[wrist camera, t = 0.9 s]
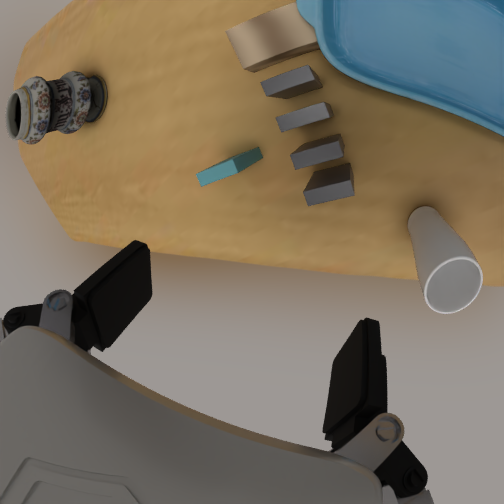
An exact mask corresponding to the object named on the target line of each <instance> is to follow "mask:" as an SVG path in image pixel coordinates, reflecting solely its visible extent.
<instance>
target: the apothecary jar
mask: <svg viewBox="0 0 504 504" xmlns="http://www.w3.org/2000/svg"><path fill="white" fill-rule="evenodd" d="M106 102H107V88H106V85H105V82H104V80H103V79H102V78H101V77H100V76H98V75H93V76H92V77H91V78H89V77H87V78H86V77H85V76H84V75H83V74H82V73H80V72H76V71H72V72H68V73H66V74H65V75H63V76H62V77H61V78H60V79H58V80H52V81H46V80H45V79H43V78H42V77H38V76H36V77H32V78H30V79H28V80H27V81H26V82H25V83H24V84H23V85H22V87H21V88H19V89H17V90H15V91H13V92H12V93H11V95H10V97H9V99H8V102H7V107H6V127H7V132H8V135H9V137H10V138H11V139H12V140H18V139H21V140H22V141H23V142H25V143H27V144H36V143H38V142H39V141H40V140H41V139H42V138H43V137H44V135H45V134H46V133H48V132H52V131H56V130H58V131H60V132H62V133H64V134H70V133H73V132H75V131H77V130H78V129H79V128H81V126H82V125H83V124H84V122H85V121H86V122H94V121H96V120H97V119H99V118H100V116H101V115H102V113H103V111H104V109H105V106H106Z"/></svg>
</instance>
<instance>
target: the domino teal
mask: <svg viewBox="0 0 504 504" xmlns="http://www.w3.org/2000/svg"><path fill="white" fill-rule="evenodd" d="M262 158H263V156H262V154H261V151H260V149H259V147H258V148H255V149H252V150H249V151H247V152H244V153H241V154H239V155H236V156H233V157H231V158H228V159H226V160H224V161H222V162H220V163H218V164H216V165H213V166H211V167H209V168H207V169H205V170H203V171H201V172H199V173H197V174H196V175H197V178H198V180H199V182H200V185H201V187H202V186H204V185H207V184H209V183H212V182H215V181H217V180H220V179H223V178H225V177H228V176H231V175H234V174H236V173H239V172H240V171H242V170H244V169H245V168H247V167H249V166H250V165H252V164H253V163H255V162H257V161H258V160H260V159H262Z"/></svg>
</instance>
